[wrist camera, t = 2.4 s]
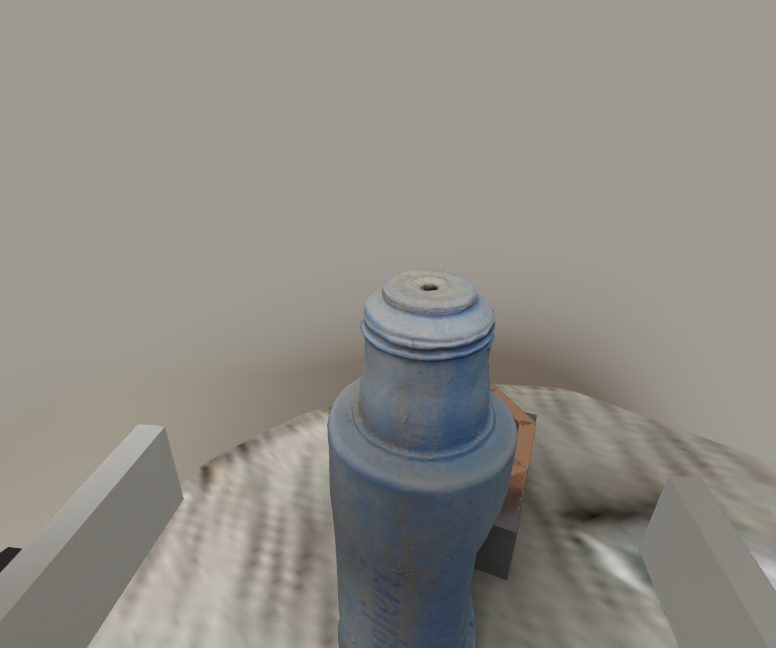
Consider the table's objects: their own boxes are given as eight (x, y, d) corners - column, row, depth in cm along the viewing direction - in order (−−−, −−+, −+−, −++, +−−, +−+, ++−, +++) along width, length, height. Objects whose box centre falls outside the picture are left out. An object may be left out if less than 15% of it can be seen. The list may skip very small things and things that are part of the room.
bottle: (370, 578, 39) (367, 239, 26) (484, 621, 36) (551, 262, 22) (316, 700, 31) (268, 306, 18) (456, 770, 28) (531, 357, 15)
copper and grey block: (528, 456, 53) (540, 396, 49) (507, 579, 39) (521, 510, 35) (398, 422, 58) (399, 365, 54) (340, 520, 45) (337, 454, 41)
